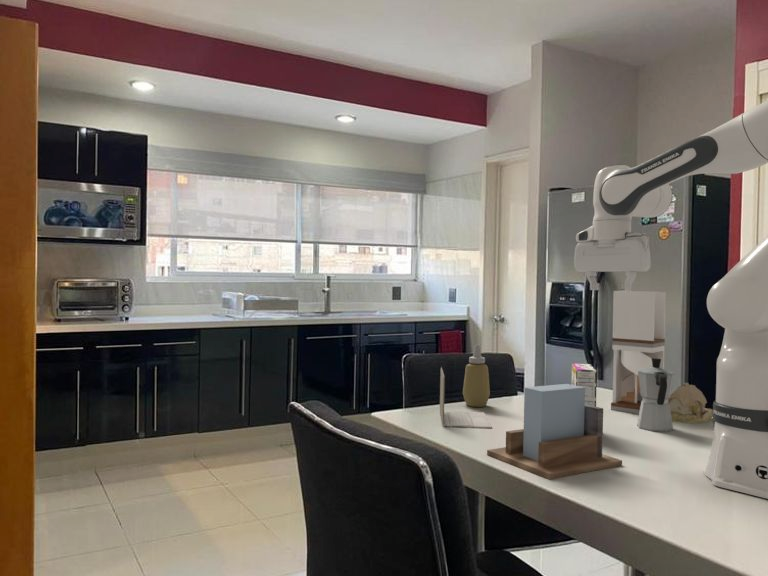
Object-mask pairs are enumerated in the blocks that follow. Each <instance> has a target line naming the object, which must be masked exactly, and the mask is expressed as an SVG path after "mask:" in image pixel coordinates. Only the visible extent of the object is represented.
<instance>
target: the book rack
mask: <svg viewBox="0 0 768 576" xmlns="http://www.w3.org/2000/svg"><path fill="white" fill-rule="evenodd" d="M603 434H604V408H603V407H599V406H596V407H595V406H591V405H586V404H585V408H584V435H583V436H577V437H570V438H563V439H557V440H550V441H543V442H539V451H538V461H536V460H534V459H531V458H528V457H525V456H523V437H524V428H521V429H513V430H507V431H505V447H504V446H503V447H498V448H492V449H491V448H490V449H486V456H489V457H492V458H494V459H496V460H499V461H502V462H505V463H508V464H509V465H512V466H515V467H517V468H519V469H522V470H525V471H527V472H530V473H532V474H535V475H537V476H540V477H542V478H544V479H548V480H553V479H558V478H564V477H569V476H572V475H573V476H574V475H578V474H584V473H589V472H590V473H591V472H593V471H600V470H604V469H611V468H615V466H616V467H620V465H621V466H623V460H622V459H619V458H616V457H613V456H610V455H607V454H604V453H603V440H604V439H603V438H604V437H603V436H604V435H603ZM610 467H611V468H610Z"/></svg>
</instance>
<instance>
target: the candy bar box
mask: <svg viewBox="0 0 768 576" xmlns="http://www.w3.org/2000/svg"><path fill="white" fill-rule="evenodd" d="M597 372H598V371H597V370H596V368H594V367H593V365H592V364H590V363H572V364H571V385H575V386H580V387H585V404H586V405H591V406H595V407H597V374H598V373H597Z"/></svg>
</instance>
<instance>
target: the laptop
mask: <svg viewBox="0 0 768 576" xmlns="http://www.w3.org/2000/svg"><path fill="white" fill-rule="evenodd" d="M444 373H445V372H444V370H443V367H442V366H440V376H439V379H440V381H439V390H440V391H439V394H440V395H439V413H440V417H441V418H440V419H441V425H442V428H464V429H465V428H466V429H493V427H492V425H491V423H490V421H489V419H488V417H487V416H486V413H485V412H484V411H459V410H458V411H456V410H455V411H454V410H445V388H446V387H445V386H446V385H445V384H446V382H445V381H446V380H445V379H446V378H445V377H446V376H445V374H444Z"/></svg>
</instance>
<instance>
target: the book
mask: <svg viewBox="0 0 768 576" xmlns="http://www.w3.org/2000/svg"><path fill="white" fill-rule="evenodd" d="M523 398H524V400H523V401H524V403H523V429H524V437H523V456H525V457H528V458H531V459H534V460H536V461H538V451H539V442H543V441H550V440H557V439H563V438H570V437H577V436H583V435H584V408H585V387H580V386H575V385H572V384H569V383H562V384H561V383H560V384H549V385H538V386H536V385H535V386H527V387H524V397H523Z"/></svg>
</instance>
